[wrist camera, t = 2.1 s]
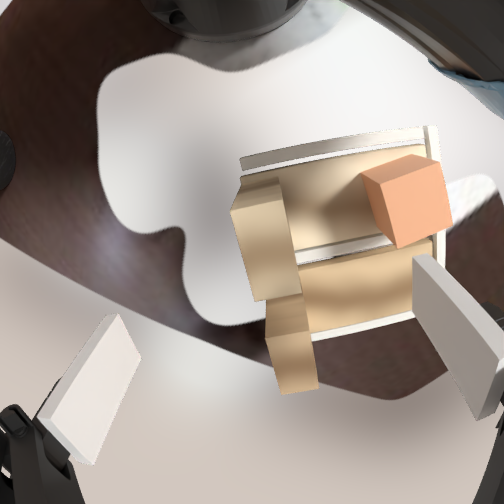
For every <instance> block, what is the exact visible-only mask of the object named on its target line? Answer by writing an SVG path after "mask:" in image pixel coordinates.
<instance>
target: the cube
mask: <svg viewBox="0 0 504 504" xmlns="http://www.w3.org/2000/svg"><path fill="white" fill-rule="evenodd" d="M360 174H361V177H362V180H363V183H364V186H365V189H366V192H367V195H368V198H369V202H370V205H371V208H372V211H373V215H374V218H375V221H376V225H377V227H378V228H379V229H380V230H381V232H382V233H383V234H384V235H385V236H386V237H387V238H388V239H389V240H390V241H391V242H392V243H393V244H394V245H395V247H396V248H397V249H399V248H401V247H403V246H406V245H408V244H411V243H413V242H416V241H418V240H420V239H423V238H425V237H427V236H430V235H432V234H434V233H437V232H439V231H441V230H444V229H446V228H448V227H451V226H453V222H452V216H451V211H450V205H449V200H448V195H447V190H446V186H445V181H444V177H443V173H442V168H441V164H440V162H439V161H435V160H432V159H428V158H425V157H421V156H418V155H414V154H409V155H407V156H404V157H401V158H398V159H395V160H393V161H390V162H387V163H384V164H382V165H379V166H376V167H373V168H371V169H368V170H365V171H363V172H360Z"/></svg>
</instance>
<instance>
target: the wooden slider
mask: <svg viewBox="0 0 504 504" xmlns="http://www.w3.org/2000/svg"><path fill="white" fill-rule="evenodd" d="M409 154H414V155H418V156H421V157H425V158H427V156H426V148H425V145H423V144H413V145H405V146H398V147H391V148H384V149H377V150H372V151H365V152H359V153H353V154H347V155H341V156H335V157H330V158H325V159H320V160H314V161H309V162H304V163H299V164H294V165H289V166H285V167H280V168H275V169H270V170H266V171H261V172H257V173H253V174H248V175H244V176H241V177H240V181H241V187H240V189H239V191H238V193H237V196H236V198H235V200H234V202H233V205H232V207H231V210H230V214H231V218H232V221H233V224H234V228H235V232H236V236H237V239H238V243H239V246H240V250H241V254H242V257H243V261H244V264H245V268H246V272H247V275H248V279H249V283H250V286H251V290H252V293H253V297H254V300H255V302H256V301H262V300H267V299H273V298H278V297H283V296H288V295H294V294H299V293H302V290H301V284H300V279H299V273H298V267H297V262H296V256H295V250H300V249H304V248H309V247H314V246H319V245H324V244H329V243H334V242H338V241H343V240H348V239H353V238H358V237H362V236H367V235H372V234H377V233H382V232H381V230H380V229H379V228H378V227H377V225H376V221H375V218H374V215H373V211H372V208H371V205H370V202H369V198H368V195H367V192H366V189H365V186H364V183H363V180H362V177H361V174H360V172H363V171H365V170H368V169H371V168H373V167H376V166H379V165H382V164H384V163H387V162H390V161H393V160H395V159H398V158H401V157H404V156H407V155H409Z"/></svg>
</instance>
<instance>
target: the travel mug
mask: <svg viewBox="0 0 504 504" xmlns="http://www.w3.org/2000/svg"><path fill="white" fill-rule="evenodd" d="M14 170H15V151H14V146H13V143H12V141H11V139H10V138H9V136H8V135H7V134H6V133H5V132H3V131H0V190H1V189H3V188H5V187H6V186H7V185H8V184H9V182H10V181H11V179H12V177H13V174H14Z"/></svg>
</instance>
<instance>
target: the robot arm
mask: <svg viewBox="0 0 504 504" xmlns="http://www.w3.org/2000/svg"><path fill="white" fill-rule="evenodd" d="M306 1H307V0H141V2H142V4H143V6H144V7H145V9H146V10H147V11H148V12H149V13H150V14H151V15H152V16H153V17H154V18H155V19H156V20H157V21H159V22H160V23H161V24H162V25H163V26H165V27H166V28H168V29H169V30H171V31H173V32H175V33H177V34H179V35H182V36H184V37H187V38H191V39H195V40H200V41H208V42H230V41H238V40H244V39H248V38H252V37H256V36H259V35H262V34H264V33H267V32H269V31H271V30H273V29H275V28H277V27H279V26H281V25H282V24H284V23H285V22H287V21H288V20H290V19H291V18H292V17H293V16H294V15H295V14H297V13H298V12H299V10H300V9H301V8H302V7H303V6H304V4H305V3H306ZM340 1H342V2H344V3H345V4H347V5H349V6H351V7H353V8H354V9H356V10H358V11H360V12H361V13H363V14H365V15H366V16H368V17H370V18H371V19H373V20H375V21H376V22H378V23H379V24H381V25H383V26H384V27H386V28H387V29H389V30H390V31H392V32H393V33H395V34H396V35H398V36H399V37H400V38H402V39H403V40H405V41H406V42H408V43H409V44H410V45H412V46H413V47H415V48H416V49H417V50H418V51H420V52H421V53H422V54H424V55H425V56H426V57H427V58H428V62H429V63H430V64H431V65H432V66H433V67H434V68H435V69H436V70H438V71H439V72H441V73H442V74H443V75H444V76H446V77H448V78H450V79H452V80H454V81H456V82H458V83H459V84H461V85H462V86H463V87H464V88H465V89H467V90H468V91H469V92H470V93H471V94H472V95H474V96H475V97H476V98H477V99H478V100H480V102H481V103H483V104H484V105H485V106H486V107H487V108H488V109H489V110H490V111H492V112H493V113H494V114H496V115H498V116H499V117H501V118H502V119H504V0H340ZM412 312H413V314H414V315H415V317H416V318H417V320H418V321H419V323H420V324H421V326H422V328H423V329H424V331H425V332H426V334H427V335H428V337H429V339H430V340H431V342H432V344H433V345H434V347H435V348H436V350H437V352H438V353H439V355H440V357H441V358H442V360H443V362H444V363H445V365H446V367H447V368H448V370H449V372H450V374H451V375H452V377H453V379H454V380H455V382H456V384H457V386H458V387H459V390H460V391H461V393H462V395H463V397H464V399H465V401H466V402H467V404H468V406H469V408H470V410H471V412H472V414H473V416H474V418H475V420H476V421H478V420H480V419H483V418H485V417H487V416H489V415H491V414H493V413H495V411H496V409H497V407H498V405H499V402H500V401H501V403H502V405H503V406H504V312H503V311H502V310H501V309H500V308H499V307H497V306H495V305H493V304H491V303H489V302H485V303H482V304H479V303H478V302H477V301H476V300H475V299H474V298H473V297H472V296H471V295H470V294H469V293H468V292H467V291H466V290H465V289H464V288H463V287H462V286H461V285H460V284H459V283H458V282H457V281H456V280H455V279H454V278H453V277H452V276H451V275H450V274H449V273H448V272H447V271H446V270H445V269H444V268H443V267H442V266H441V265H440V264H439V263H438V262H437V261H436V260H435V259H434V258H433V257H432V256H430V255H429V254H428V253H425V254H421V255H417V256H413V257H412ZM141 359H142V358H141V356H140V354H139V352H138V350H137V349H136V347H135V345H134V343H133V341H132V339H131V337H130V335H129V333H128V331H127V329H126V327H125V325H124V323H123V321H122V319H121V318H120V315H119V313H118V314H111V315H106V316H105V317H104V319H103V320H102V321H101V323H100V324H99V325H98V327H97V328H96V330H95V331H94V332H93V334H92V335H91V336H90V338H89V339H88V341H87V342H86V343H85V345H84V346H83V348H82V349H81V350H80V352H79V353H78V355H77V356H76V358H75V359H74V360H73V362H72V363H71V365H70V366H69V368H68V369H67V371H66V372H65V374H64V375H63V376H62V377H61V378H60V379H59V380H58V381H57V382H56V384H55V385H54V387H53V389H52V391H50V393H49V395H48V396H47V397H48V398H46V399H45V400H44V402H43V404H42V405H41V407H40V408H39V410H38V411H37V413H36V415H35V416H34V418H33V419H32V421H31V419H30V418H29V417H28V416H27V415H26V413H25V412H24V411H23V410H22V409H21V407H20V406H19V405H17V404H13V405H10V406H8V407H6V408H5V409H3V411H2V412H1V413H0V426H1V427H2V428H3V430H4V431H5V432H6V433H4V432H3V431H2V430H1V429H0V504H85V502H84V499H83V496H82V493H81V490H80V487H79V484H78V481H77V478H76V475H75V471H74V468H73V465H72V463H71V462H70V461H69V460H68V458H69V456H70V454H71V455H72V456H73V457H74V458H75V459H76V460H77V461H78V462H79V463H83V464H88V465H94V463H95V461H96V459H97V456H98V454H99V451H100V449H101V447H102V444H103V442H104V440H105V438H106V435H107V433H108V431H109V428H110V426H111V424H112V421H113V419H114V417H115V415H116V413H117V410H118V408H119V406H120V404H121V401H122V399H123V397H124V395H125V393H126V391H127V388H128V386H129V384H130V382H131V380H132V378H133V376H134V374H135V371H136V369H137V367H138V365H139V363H140V361H141ZM496 428H499V429H498V433H497V437H496V440H495V443H494V447H493V450H492V453H491V456H490V459H489V462H488V465H487V468H486V471H485V474H484V476H483V479H482V482H481V484H480V486H479V489H478V492H477V494H476V496H475V499H474V501H473V503H472V504H504V412H503V414H502V416H501V418H500V420H499V422H498V424H497V426H496ZM2 466H3V467H4V468H5V469H6V470H7V471H8V472H9V473H10V474H11V476H10V478H8V477H7V476H5V475H4V474H3V473H2V472H1V469H2Z"/></svg>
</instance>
